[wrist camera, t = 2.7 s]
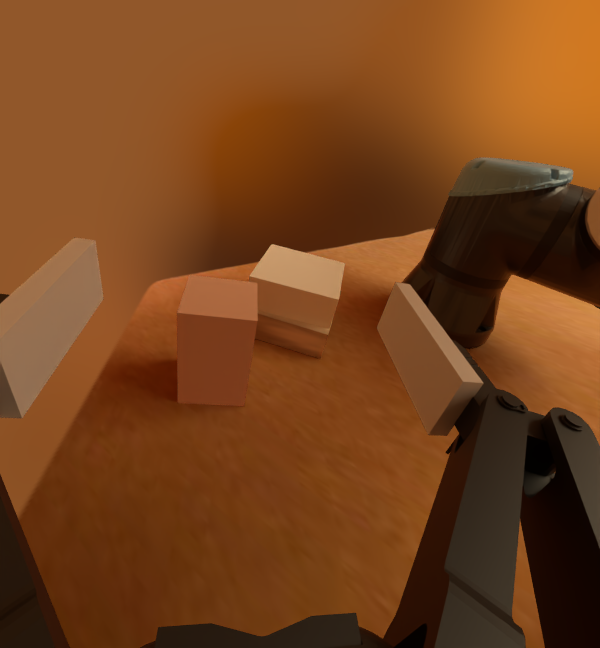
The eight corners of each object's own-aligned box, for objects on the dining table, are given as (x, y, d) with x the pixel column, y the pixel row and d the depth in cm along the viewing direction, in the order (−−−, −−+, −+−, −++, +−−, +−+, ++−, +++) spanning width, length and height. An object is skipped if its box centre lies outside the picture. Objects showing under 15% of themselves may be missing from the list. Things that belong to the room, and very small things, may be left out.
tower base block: (262, 293, 50) (265, 268, 48) (334, 314, 49) (341, 291, 47) (232, 334, 41) (235, 306, 39) (320, 361, 40) (328, 334, 38)
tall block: (188, 358, 36) (189, 274, 30) (245, 363, 37) (257, 282, 32) (177, 402, 31) (177, 312, 26) (244, 406, 32) (257, 321, 27)
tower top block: (267, 271, 48) (271, 244, 45) (337, 289, 47) (344, 263, 45) (245, 306, 39) (249, 275, 37) (329, 329, 39) (338, 299, 37)
